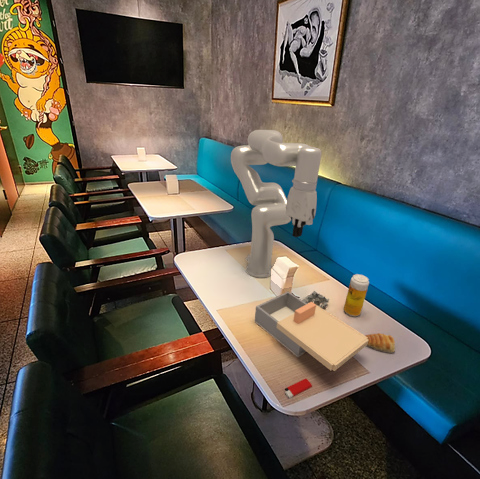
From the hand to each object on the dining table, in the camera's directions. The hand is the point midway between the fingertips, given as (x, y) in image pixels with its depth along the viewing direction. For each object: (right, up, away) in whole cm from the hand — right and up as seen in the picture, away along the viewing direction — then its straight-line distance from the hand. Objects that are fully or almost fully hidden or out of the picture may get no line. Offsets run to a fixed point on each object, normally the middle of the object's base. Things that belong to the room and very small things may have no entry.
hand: (296, 235), depth 108 cm
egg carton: (+8, -27, +7) cm, 30 cm away
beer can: (+22, -29, +6) cm, 37 cm away
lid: (+5, -31, -15) cm, 35 cm away
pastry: (+25, -36, -9) cm, 45 cm away
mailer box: (-3, -32, -5) cm, 32 cm away
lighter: (-5, -42, -26) cm, 50 cm away
